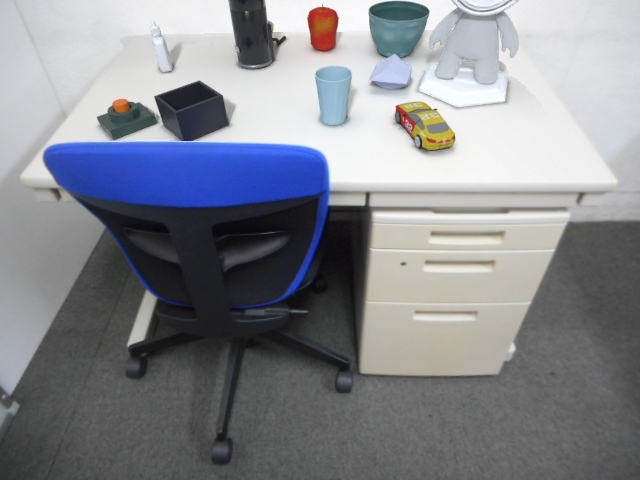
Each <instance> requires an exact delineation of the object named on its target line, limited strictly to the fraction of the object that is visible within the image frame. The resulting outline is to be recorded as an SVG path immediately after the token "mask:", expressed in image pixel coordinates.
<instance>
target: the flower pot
mask: <svg viewBox="0 0 640 480" xmlns="http://www.w3.org/2000/svg"><path fill="white" fill-rule="evenodd" d="M367 12H368V25H369V31H370V35H371V38H372V40H373V41H374V44H375V45H376V47H377V52H378V53H379V54H380V55H381V56H384V57H387V58H388V57H390V56H392V55H393V54H396V55H397V56H398V57H399V58H404V57H407V56H410V54H411V53H412V51H413V48H415V47H416V46H417V44H418V43H419V42H420V40H421V38H422V37H423V34H424V32H425V30H426V28H427V27H426V26H427V23H428V19H429V16H430V13H431V10H430V9H429V7H427V6H426V5H424V4H421V3H419V2H414V1H409V0H386V1H381V2H378V3H374V4H372V5H371V6H370V7H368V11H367Z"/></svg>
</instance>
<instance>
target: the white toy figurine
mask: <svg viewBox="0 0 640 480" xmlns="http://www.w3.org/2000/svg"><path fill="white" fill-rule="evenodd" d="M450 1H451V2H452V3H453V5H455V6H456V8H454V9H453V10H451V11H450V12H449V13H448V14H447V15H446V16H445V17H444V18H442V19H441V21H440V22H438V23H437V25H435V27H434V29H433V30H432V32H431V34H430V35H429V38H428V39H429V40H428V48H429V49H430V50H433V49H434V48H435V45H436V44H437V43H438V42H439V45H440V46H443V45H444V43H445V41H446V39H447V37H448V35H449V34H450V35H449V37H448V39H447V41H446V43H445V45H444V47H443V50H442V51H441V55H440V56H439V59H438V62H437V64H431V65H429V66H428V67H427V68H426V69H425V72H424V75H423V77H422V79H421V82H420V84H419V86H418V92H421V93H422V94H425V95H427V96H430V97H432V98H434V99H437V100H439V101H441V102H444V103H445V104H448V105H451V106H453V107H455V108H465V107H474V106H482V105H491V104H492V105H493V104H499V103H500V104H501V103H505V101H506V96H507V88H508V77H507V75H506V74H505V73H503V72H501V71H499V61H500V57H499V56H500V41H501V52H502V53H505V52H506V49H508V51H509V58H510V59H513V58H515V56H516V55H517V53H518V51H519V47H520V39H519V35H518V31H517V29H516V27H515V25H514V23H513V21H512V19H511V17H510V16H509V15H508V14H507V12H505V11H506V10H508V9H510V8H511V7H513V6H514V5H515V4H517V3H518V2H520V0H450ZM499 36H500V39H499ZM464 59H466V61H464ZM470 60H474V62H472V61H470Z"/></svg>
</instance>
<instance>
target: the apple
mask: <svg viewBox="0 0 640 480" xmlns="http://www.w3.org/2000/svg"><path fill="white" fill-rule="evenodd" d="M339 19H340V17H339V15H338V12H337V11H336V9H333V8H331V7H327V6H324V4H323V3H322V4H321V6H317V7H315V8H312V9H310V10H309V12H308V15H307V17H306V20H307V26H308V32H309V37H310V45H311V46H312V47H313V48H314V49H315V50H317V51H320V52H326V51H327V52H328V51H330V50H332V49H333V48H335V46H336V44H337V43H336V41H337V32H338V27H339Z"/></svg>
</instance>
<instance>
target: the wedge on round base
mask: <svg viewBox="0 0 640 480" xmlns="http://www.w3.org/2000/svg"><path fill="white" fill-rule="evenodd" d="M412 70H413V69H412V65H411V64H410V63H408V62H407V61H403V59H402V58H401V57H398V56H397V55H396V54H393V55H392V56H390V57H388V56H387V58H385V59H383V60H382V61H379V62H377V63H376V64H375V66H374V67H373V70H372V72H371V74H370V76H369V78H368V81H370V82H374V83H375V84H376V85H377V86H379V87H381V88H384V89H389V90H392V89H394V90H396V89H397V90H398V89H403V88H405V87H407V86H409V84H410V83H411V78H412Z"/></svg>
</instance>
